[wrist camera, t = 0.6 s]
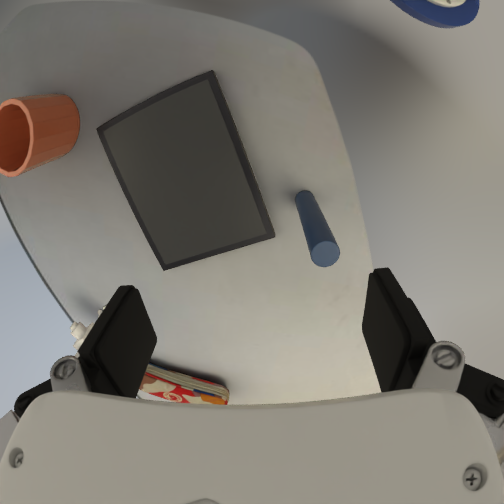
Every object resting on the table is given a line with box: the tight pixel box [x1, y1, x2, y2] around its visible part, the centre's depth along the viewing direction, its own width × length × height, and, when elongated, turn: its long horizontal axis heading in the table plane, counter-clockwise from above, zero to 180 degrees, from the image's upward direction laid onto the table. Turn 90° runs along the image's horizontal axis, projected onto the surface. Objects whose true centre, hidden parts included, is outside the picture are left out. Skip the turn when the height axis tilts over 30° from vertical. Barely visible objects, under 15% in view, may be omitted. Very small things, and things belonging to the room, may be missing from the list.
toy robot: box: [70, 306, 106, 358], centre depth 37 cm, size 4×8×12 cm, turn 37°
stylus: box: [295, 191, 340, 267], centre depth 27 cm, size 2×2×13 cm
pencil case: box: [139, 363, 229, 405], centre depth 46 cm, size 11×20×5 cm, turn 59°
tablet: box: [97, 70, 275, 271], centre depth 31 cm, size 20×15×1 cm
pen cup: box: [0, 94, 80, 177], centre depth 25 cm, size 9×9×9 cm
